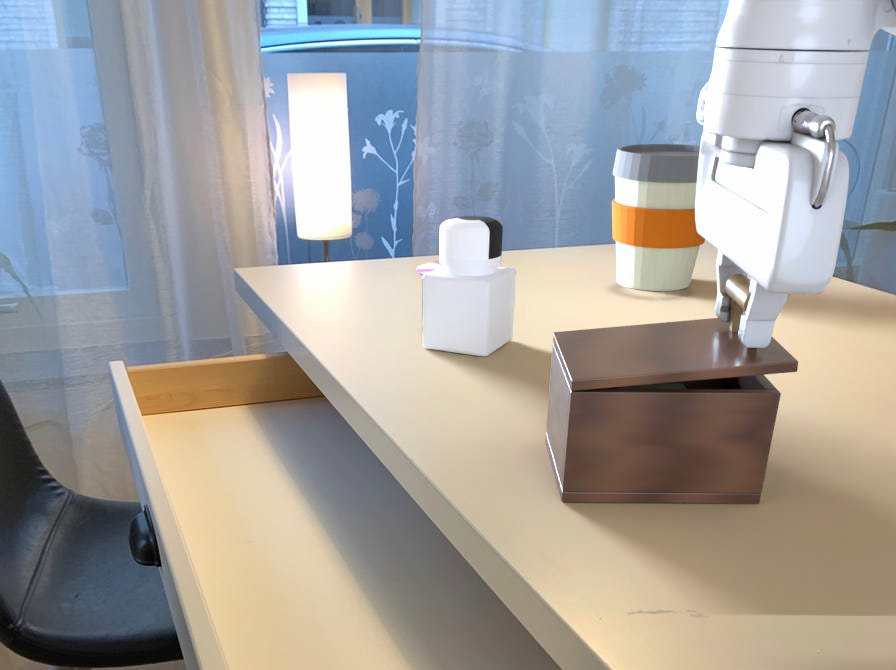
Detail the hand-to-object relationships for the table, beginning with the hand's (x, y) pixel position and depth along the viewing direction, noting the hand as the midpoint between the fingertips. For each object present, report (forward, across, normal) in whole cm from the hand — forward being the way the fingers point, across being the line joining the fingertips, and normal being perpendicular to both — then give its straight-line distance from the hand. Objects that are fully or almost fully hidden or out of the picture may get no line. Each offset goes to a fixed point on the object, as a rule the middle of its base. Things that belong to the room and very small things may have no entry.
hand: (739, 331), depth 69 cm
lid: (+2, 0, +5) cm, 5 cm away
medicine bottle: (+10, +33, +17) cm, 39 cm away
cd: (+10, +67, +17) cm, 70 cm away
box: (+10, 0, +5) cm, 11 cm away
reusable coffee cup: (+10, +61, -7) cm, 62 cm away
